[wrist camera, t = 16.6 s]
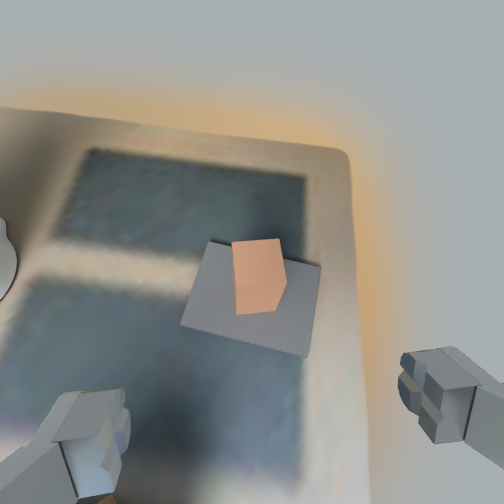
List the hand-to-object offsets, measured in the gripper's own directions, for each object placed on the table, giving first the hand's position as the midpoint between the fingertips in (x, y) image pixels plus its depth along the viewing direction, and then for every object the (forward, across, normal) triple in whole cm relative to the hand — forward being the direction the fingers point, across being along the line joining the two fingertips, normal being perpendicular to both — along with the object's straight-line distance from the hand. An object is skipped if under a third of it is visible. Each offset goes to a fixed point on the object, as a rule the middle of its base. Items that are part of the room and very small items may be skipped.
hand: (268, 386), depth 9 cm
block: (+29, -2, +11) cm, 31 cm away
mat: (+29, -2, +12) cm, 32 cm away
